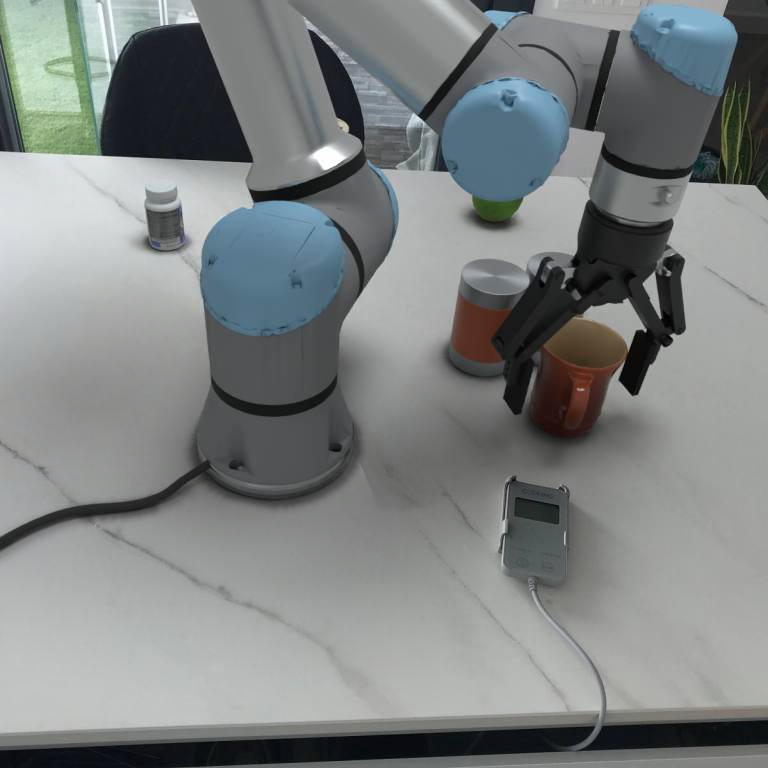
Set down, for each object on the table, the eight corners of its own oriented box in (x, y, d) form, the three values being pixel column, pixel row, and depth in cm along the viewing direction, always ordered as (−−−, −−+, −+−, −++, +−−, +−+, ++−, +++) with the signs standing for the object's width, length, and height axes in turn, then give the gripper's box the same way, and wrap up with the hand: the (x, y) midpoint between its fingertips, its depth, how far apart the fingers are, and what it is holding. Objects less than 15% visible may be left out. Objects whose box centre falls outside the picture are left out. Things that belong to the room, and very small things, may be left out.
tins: (463, 381, 87) (477, 298, 80) (438, 342, 92) (450, 262, 85) (583, 362, 91) (607, 282, 84) (554, 326, 97) (574, 248, 90)
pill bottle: (191, 246, 105) (185, 189, 100) (157, 254, 103) (150, 196, 98) (177, 231, 108) (171, 174, 103) (144, 238, 106) (136, 181, 101)
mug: (522, 386, 87) (541, 310, 80) (601, 400, 86) (626, 324, 79) (515, 459, 78) (535, 380, 71) (603, 476, 77) (631, 397, 70)
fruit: (456, 218, 117) (467, 141, 110) (486, 202, 122) (499, 128, 115) (499, 237, 114) (514, 159, 106) (528, 220, 118) (544, 144, 111)
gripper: (519, 241, 60) (475, 440, 73) (777, 217, 67) (694, 402, 80) (480, 197, 65) (445, 390, 78) (723, 179, 72) (653, 359, 86)
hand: (571, 396), depth 79 cm, fingers open, 13 cm apart
